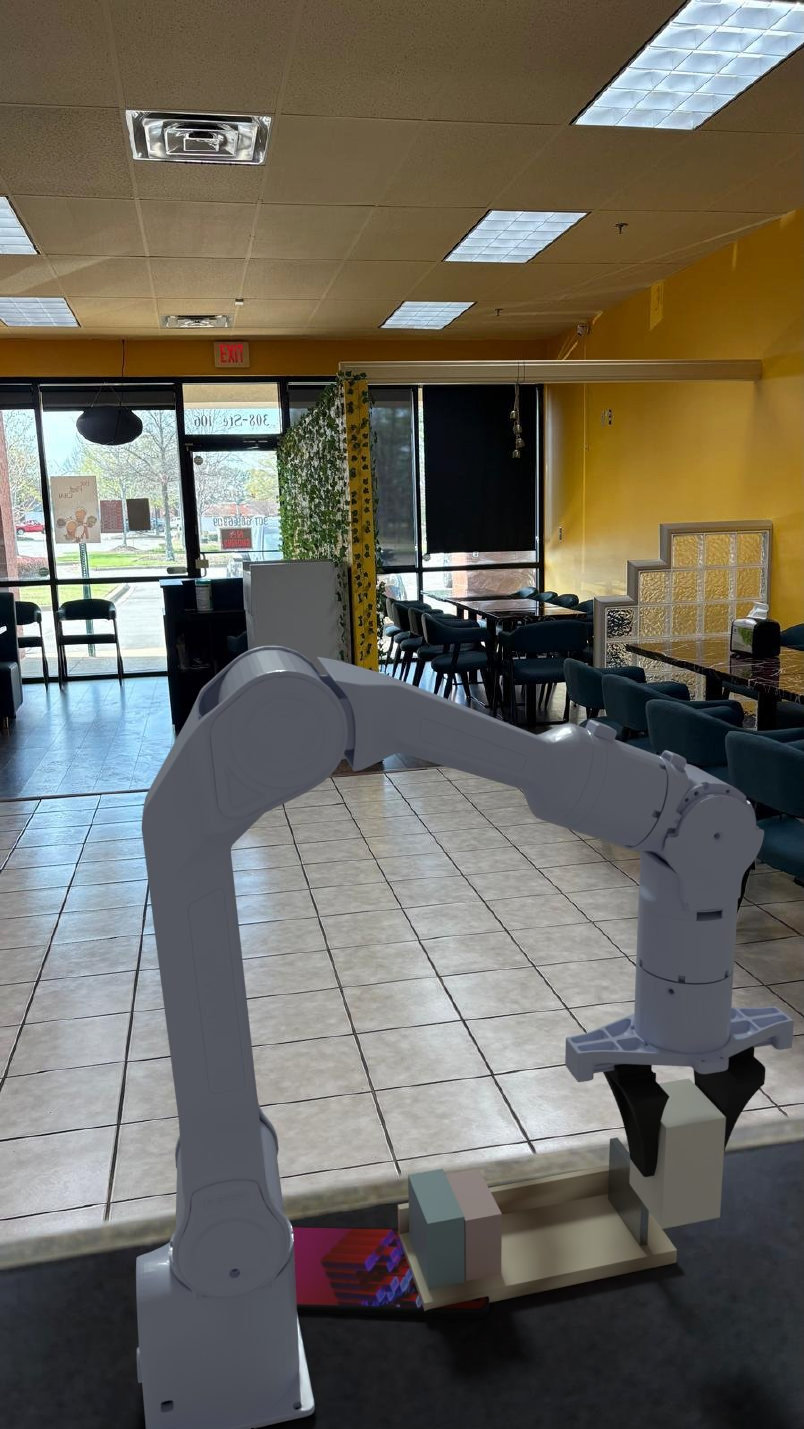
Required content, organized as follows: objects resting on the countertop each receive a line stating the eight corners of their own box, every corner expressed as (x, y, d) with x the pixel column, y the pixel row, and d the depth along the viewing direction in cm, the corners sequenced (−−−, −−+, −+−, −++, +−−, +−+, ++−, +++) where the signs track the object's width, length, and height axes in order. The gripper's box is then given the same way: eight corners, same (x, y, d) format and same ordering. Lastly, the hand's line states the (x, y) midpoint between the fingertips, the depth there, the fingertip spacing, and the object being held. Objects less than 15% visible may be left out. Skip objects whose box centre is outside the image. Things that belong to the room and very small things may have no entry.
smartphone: (280, 1223, 74) (487, 1228, 73) (281, 1234, 74) (487, 1238, 73) (259, 1306, 66) (489, 1312, 65) (259, 1318, 67) (489, 1324, 66)
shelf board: (424, 1316, 66) (423, 1276, 65) (398, 1241, 73) (397, 1204, 72) (676, 1262, 70) (678, 1224, 70) (630, 1196, 77) (631, 1161, 76)
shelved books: (428, 1290, 67) (427, 1223, 66) (409, 1237, 72) (408, 1174, 70) (501, 1274, 68) (502, 1209, 67) (478, 1224, 73) (478, 1162, 72)
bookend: (639, 1246, 70) (641, 1182, 69) (608, 1198, 75) (609, 1138, 74) (647, 1244, 70) (650, 1180, 69) (615, 1197, 75) (617, 1137, 74)
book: (661, 1229, 63) (666, 1127, 61) (629, 1183, 67) (632, 1087, 65) (720, 1217, 64) (725, 1117, 62) (684, 1172, 68) (689, 1078, 66)
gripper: (602, 1010, 56) (596, 1223, 59) (830, 976, 60) (814, 1180, 63) (553, 955, 63) (550, 1150, 66) (761, 928, 66) (749, 1114, 69)
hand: (675, 1160), depth 65 cm, fingers closed on book, 4 cm apart
